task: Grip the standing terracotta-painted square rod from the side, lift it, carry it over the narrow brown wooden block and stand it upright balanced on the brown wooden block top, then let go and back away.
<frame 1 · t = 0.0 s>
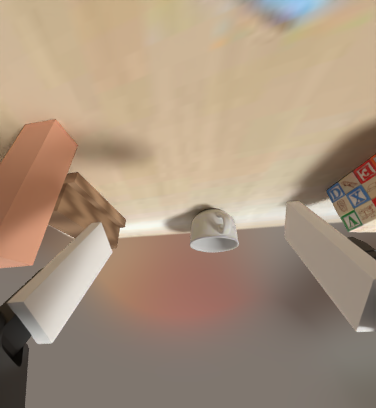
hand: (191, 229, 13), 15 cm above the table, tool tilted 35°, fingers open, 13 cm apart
teacup: (213, 211, 44), on the table
brown wooden block: (90, 202, 38), on the table
rod: (53, 135, 24), on the table
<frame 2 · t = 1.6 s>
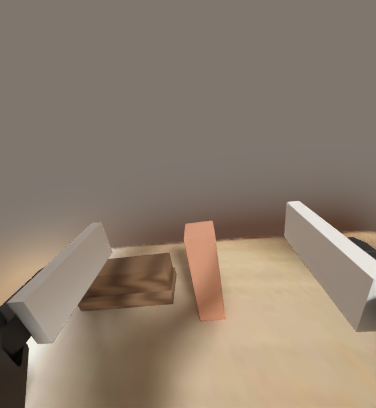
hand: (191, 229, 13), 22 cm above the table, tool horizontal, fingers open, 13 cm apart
brown wooden block: (131, 291, 38), on the table
rod: (211, 308, 32), on the table
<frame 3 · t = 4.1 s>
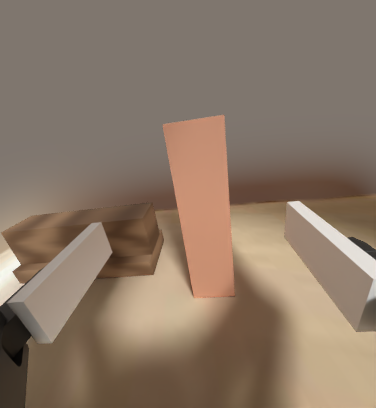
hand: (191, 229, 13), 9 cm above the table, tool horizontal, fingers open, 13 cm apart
brown wooden block: (98, 260, 26), on the table
rod: (212, 281, 20), on the table
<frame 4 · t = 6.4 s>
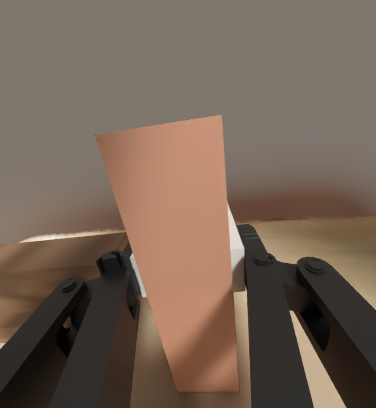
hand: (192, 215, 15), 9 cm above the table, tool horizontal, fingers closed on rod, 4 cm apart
brown wooden block: (57, 306, 20), on the table
rod: (206, 355, 14), on the table, touching gripper
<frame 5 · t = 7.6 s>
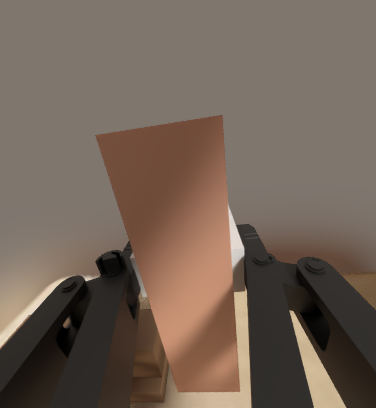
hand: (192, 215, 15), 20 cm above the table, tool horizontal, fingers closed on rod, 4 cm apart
brown wooden block: (101, 364, 24), on the table
rod: (207, 356, 14), point 11 cm above the table, touching gripper
when the fingers open (17 cm above the table, at t = 9.2 s): rod drops 1 cm, resting on brown wooden block.
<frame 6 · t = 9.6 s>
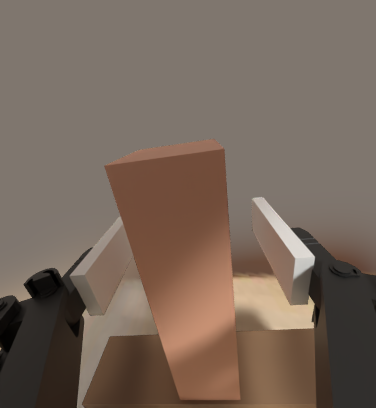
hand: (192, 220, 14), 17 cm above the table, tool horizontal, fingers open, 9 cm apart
brown wooden block: (215, 406, 17), on the table
rod: (208, 364, 14), point 7 cm above the table, touching brown wooden block
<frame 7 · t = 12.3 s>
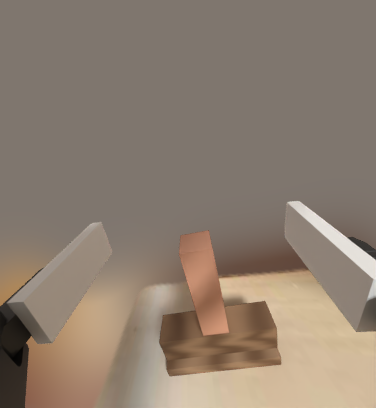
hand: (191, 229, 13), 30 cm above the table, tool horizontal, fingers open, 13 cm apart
brown wooden block: (220, 346, 33), on the table
rod: (214, 321, 30), point 7 cm above the table, touching brown wooden block
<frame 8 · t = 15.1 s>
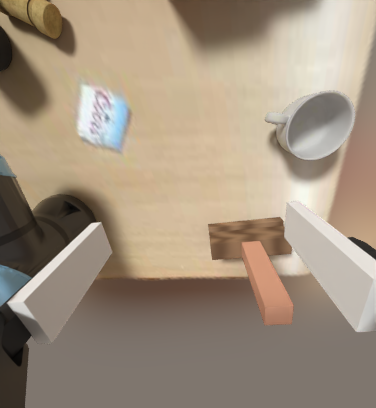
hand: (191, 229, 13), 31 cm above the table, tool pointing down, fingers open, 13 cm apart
teacup: (289, 124, 38), on the table
brown wooden block: (243, 232, 49), on the table
rod: (250, 248, 42), point 7 cm above the table, touching brown wooden block
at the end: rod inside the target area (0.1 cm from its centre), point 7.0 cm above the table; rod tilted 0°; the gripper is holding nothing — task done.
